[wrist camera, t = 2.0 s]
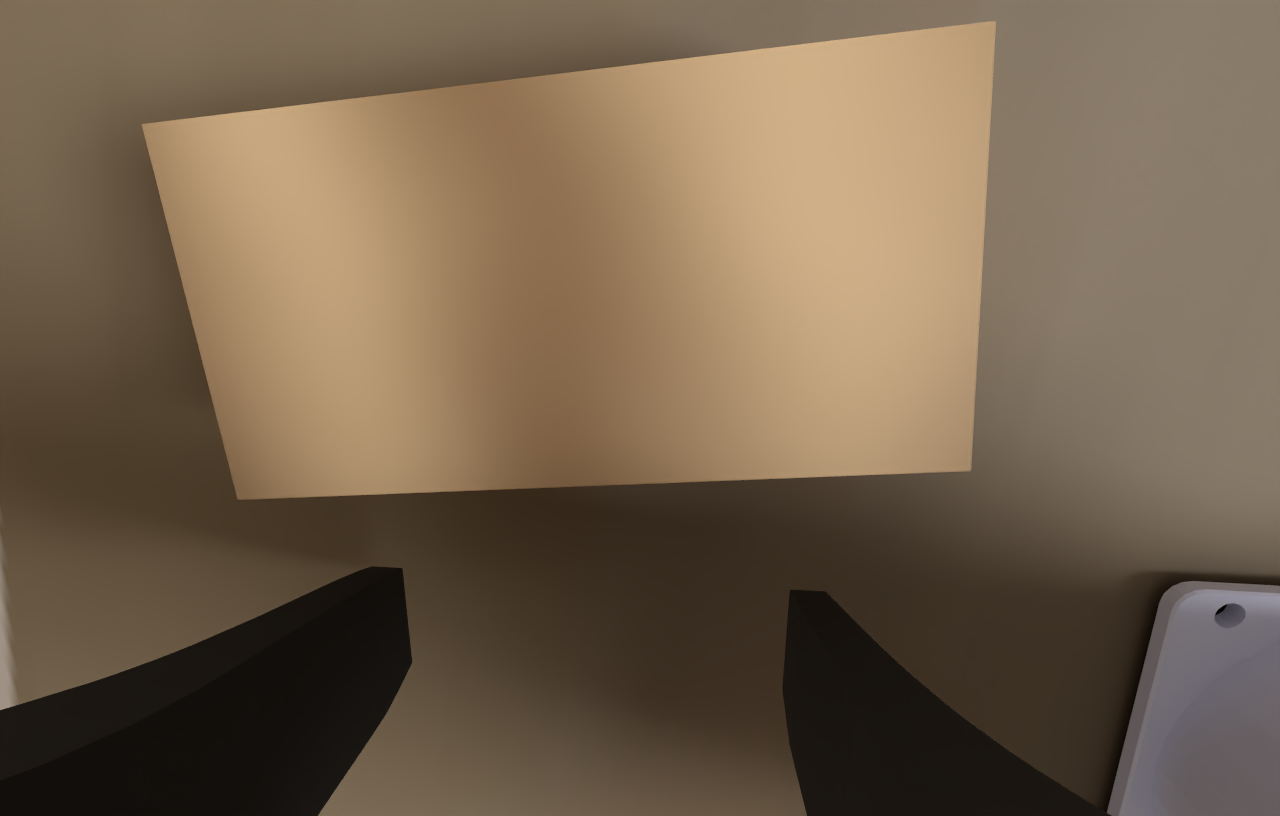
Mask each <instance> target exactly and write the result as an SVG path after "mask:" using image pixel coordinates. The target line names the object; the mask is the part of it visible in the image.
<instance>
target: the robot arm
mask: <svg viewBox="0 0 1280 816" xmlns="http://www.w3.org/2000/svg"><path fill="white" fill-rule="evenodd" d="M1225 604H1227V606H1226V608H1225V609H1224V611H1222V612H1221V613H1219V614H1218V615H1215V614H1216V612H1217V610H1218V609H1219V608H1221V607H1222V606H1224V605H1225ZM411 663H412V657H411V647H410V638H409V628H408V618H407V609H406V599H405V589H404V580H403V570H402V568H389V567H369V568H366V569H363V570H360V571H358V572H355V573H353V574H350V575H348V576H345V577H343V578H341V579H338V580H336V581H334V582H332V583H330V584H327V585H325V586H323V587H321V588H319V589H317V590H314V591H312V592H310V593H308V594H306V595H304V596H301V597H299V598H297V599H295V600H293V601H291V602H289V603H286V604H284V605H282V606H280V607H278V608H276V609H274V610H271V611H269V612H267V613H265V614H263V615H261V616H258V617H256V618H254V619H252V620H249V621H247V622H245V623H242V624H240V625H238V626H236V627H233V628H231V629H229V630H226V631H224V632H222V633H219V634H217V635H215V636H212V637H210V638H208V639H206V640H203V641H201V642H199V643H196V644H194V645H192V646H189V647H187V648H184V649H182V650H179V651H177V652H174V653H172V654H169V655H166V656H164V657H161V658H159V659H156V660H154V661H151V662H148V663H145V664H142V665H140V666H137V667H134V668H131V669H129V670H126V671H123V672H120V673H118V674H115V675H112V676H109V677H106V678H103V679H100V680H97V681H94V682H91V683H88V684H85V685H81V686H78V687H75V688H72V689H68V690H65V691H62V692H59V693H55V694H52V695H49V696H46V697H42V698H39V699H36V700H33V701H29V702H26V703H23V704H20V705H16V706H13V707H10V708H6V709H3V710H0V816H318V814H319V813H320V811H321V810H322V808H323V807H324V805H325V804H326V802H327V801H328V800H329V798H330V797H331V795H332V794H333V792H334V791H335V789H336V788H337V786H338V785H339V783H340V782H341V780H342V779H343V778H344V776H345V775H346V773H347V772H348V770H349V769H350V767H351V766H352V764H353V763H354V761H355V760H356V758H357V757H358V755H359V754H360V753H361V751H362V750H363V748H364V747H365V745H366V744H367V742H368V741H369V739H370V738H371V736H372V735H373V733H374V732H375V730H376V729H377V727H378V726H379V724H380V722H381V721H382V719H383V718H384V716H385V715H386V713H387V711H388V709H389V708H390V706H391V704H392V702H393V700H394V698H395V696H396V694H397V692H398V690H399V688H400V686H401V684H402V682H403V680H404V678H405V676H406V674H407V672H408V670H409V668H410V666H411ZM783 696H784V704H785V712H786V720H787V727H788V735H789V742H790V747H791V752H792V756H793V760H794V764H795V768H796V772H797V777H798V781H799V785H800V789H801V793H802V797H803V801H804V805H805V809H806V813H807V816H1280V586H1276V585H1258V584H1239V583H1221V582H1202V581H1188V582H1181V583H1179V584H1177V585H1174V586H1172V587H1171V588H1170V589H1168V590H1167V591H1166V592H1165V593H1164V594H1163V596H1162V598H1161V600H1160V602H1159V606H1158V610H1157V614H1156V618H1155V622H1154V626H1153V630H1152V634H1151V638H1150V642H1149V646H1148V650H1147V654H1146V658H1145V662H1144V666H1143V670H1142V674H1141V678H1140V682H1139V686H1138V690H1137V694H1136V698H1135V702H1134V706H1133V710H1132V714H1131V718H1130V722H1129V726H1128V730H1127V734H1126V738H1125V742H1124V746H1123V750H1122V754H1121V758H1120V762H1119V766H1118V770H1117V774H1116V778H1115V782H1114V786H1113V790H1112V794H1111V798H1110V802H1109V806H1108V810H1107V813H1106V812H1104V811H1103V810H1101V809H1099V808H1097V807H1096V806H1094V805H1092V804H1091V803H1089V802H1087V801H1086V800H1084V799H1082V798H1081V797H1079V796H1078V795H1076V794H1074V793H1073V792H1071V791H1070V790H1068V789H1067V788H1065V787H1063V786H1062V785H1060V784H1059V783H1057V782H1055V781H1054V780H1052V779H1051V778H1049V777H1047V776H1046V775H1044V774H1043V773H1041V772H1039V771H1038V770H1036V769H1035V768H1033V767H1032V766H1030V765H1029V764H1027V763H1026V762H1024V761H1023V760H1021V759H1020V758H1018V757H1017V756H1015V755H1014V754H1012V753H1011V752H1009V751H1008V750H1007V749H1005V748H1004V747H1002V746H1001V745H1000V744H998V743H997V742H996V741H994V740H993V739H991V738H990V737H989V736H987V735H986V734H985V733H983V732H982V731H980V730H979V729H978V728H976V727H975V726H974V725H972V724H971V723H969V722H968V721H967V720H965V719H964V718H963V717H961V716H960V715H959V714H958V713H956V712H955V711H954V710H952V709H951V708H950V707H949V706H947V705H946V704H945V703H944V702H943V701H941V700H940V699H939V698H938V697H937V696H935V695H934V694H933V693H932V692H931V691H929V690H928V689H927V688H926V687H925V686H924V685H922V684H921V683H920V682H919V681H918V680H916V679H915V678H914V677H913V676H912V675H911V674H910V673H908V672H907V671H906V670H905V669H904V668H903V667H902V666H901V665H900V664H898V663H897V662H896V661H895V660H894V659H893V658H892V657H891V656H890V655H889V654H888V653H887V652H886V651H884V650H883V649H882V648H881V647H880V646H879V645H878V644H877V643H876V642H875V641H874V640H873V639H872V638H871V637H870V636H869V635H868V634H867V633H866V632H865V631H864V630H863V629H862V628H861V627H860V626H859V625H858V624H857V623H856V622H855V621H854V620H853V619H852V618H851V617H850V616H849V615H848V614H847V613H846V612H845V611H844V610H843V609H842V608H841V607H840V606H839V605H838V604H837V603H836V602H835V601H834V600H833V599H832V598H831V597H830V596H829V595H828V594H827V593H826V592H822V591H804V590H790V596H789V609H788V623H787V636H786V650H785V663H784V677H783Z"/></svg>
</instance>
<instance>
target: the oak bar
mask: <svg viewBox="0 0 1280 816" xmlns="http://www.w3.org/2000/svg"><path fill="white" fill-rule="evenodd" d="M995 29H996V21H991V22H982V23H974V24H966V25H957V26H949V27H941V28H933V29H924V30H916V31H908V32H900V33H891V34H883V35H875V36H866V37H858V38H850V39H842V40H833V41H825V42H817V43H809V44H800V45H792V46H784V47H775V48H767V49H759V50H751V51H742V52H734V53H726V54H718V55H709V56H701V57H693V58H685V59H676V60H668V61H660V62H651V63H643V64H635V65H627V66H618V67H610V68H602V69H594V70H585V71H577V72H569V73H560V74H552V75H544V76H536V77H527V78H519V79H511V80H503V81H494V82H486V83H478V84H469V85H461V86H453V87H445V88H436V89H428V90H420V91H412V92H403V93H395V94H387V95H378V96H370V97H362V98H354V99H345V100H337V101H329V102H321V103H312V104H304V105H296V106H288V107H279V108H271V109H263V110H254V111H246V112H238V113H230V114H221V115H213V116H205V117H197V118H188V119H180V120H172V121H163V122H155V123H147V124H142V128H143V132H144V136H145V140H146V144H147V147H148V151H149V155H150V159H151V163H152V167H153V171H154V175H155V179H156V183H157V186H158V190H159V194H160V198H161V202H162V206H163V210H164V214H165V218H166V222H167V226H168V229H169V233H170V237H171V241H172V245H173V249H174V253H175V257H176V261H177V265H178V269H179V272H180V276H181V280H182V284H183V288H184V292H185V296H186V300H187V304H188V308H189V312H190V315H191V319H192V323H193V327H194V331H195V335H196V339H197V343H198V347H199V351H200V355H201V358H202V362H203V366H204V370H205V374H206V378H207V382H208V386H209V390H210V394H211V398H212V401H213V405H214V409H215V413H216V417H217V421H218V425H219V429H220V433H221V437H222V440H223V444H224V448H225V452H226V456H227V460H228V464H229V468H230V472H231V476H232V480H233V483H234V487H235V491H236V495H237V499H238V500H247V499H272V498H297V497H323V496H348V495H374V494H399V493H424V492H450V491H475V490H500V489H526V488H551V487H576V486H602V485H627V484H653V483H678V482H703V481H729V480H754V479H779V478H805V477H830V476H855V475H881V474H906V473H931V472H957V471H971V462H972V444H973V426H974V408H975V390H976V372H977V354H978V336H979V318H980V300H981V282H982V264H983V245H984V227H985V209H986V191H987V173H988V155H989V137H990V119H991V101H992V83H993V65H994V47H995Z"/></svg>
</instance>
